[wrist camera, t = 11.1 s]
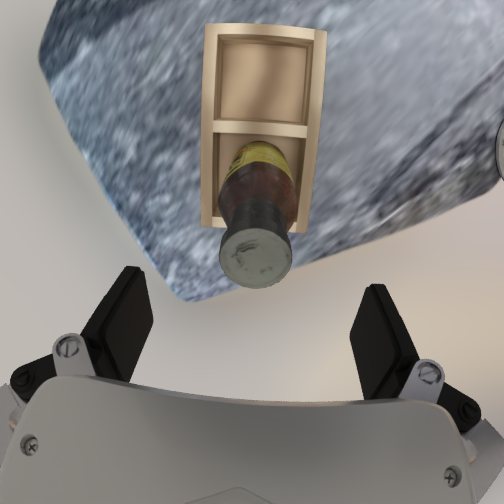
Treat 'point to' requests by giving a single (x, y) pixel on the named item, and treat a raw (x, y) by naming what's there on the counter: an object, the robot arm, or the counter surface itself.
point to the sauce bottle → (257, 216)
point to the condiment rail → (260, 104)
